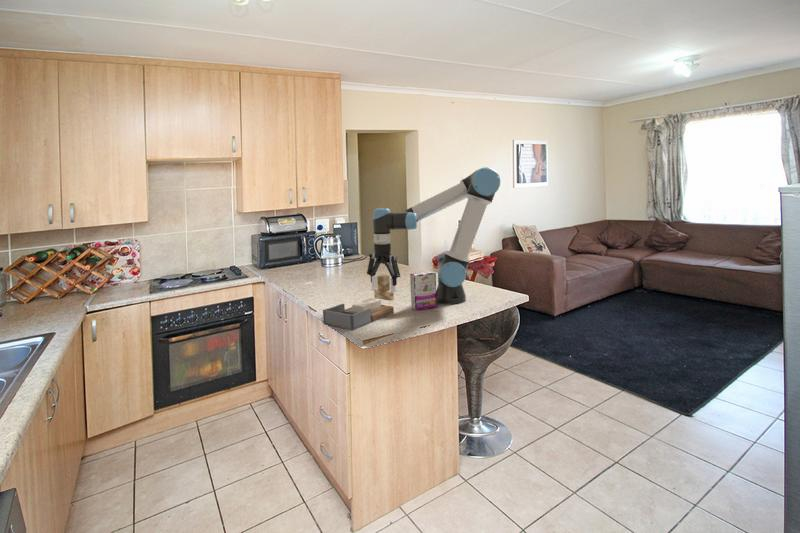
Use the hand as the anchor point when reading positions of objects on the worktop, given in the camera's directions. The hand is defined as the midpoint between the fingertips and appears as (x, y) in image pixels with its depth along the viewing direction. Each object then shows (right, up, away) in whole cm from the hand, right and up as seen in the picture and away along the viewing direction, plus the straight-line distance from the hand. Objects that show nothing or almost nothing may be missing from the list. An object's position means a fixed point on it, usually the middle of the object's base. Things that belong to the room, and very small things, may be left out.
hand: (383, 291), depth 199 cm
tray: (-14, -12, -19) cm, 27 cm away
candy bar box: (+19, -8, +1) cm, 20 cm away
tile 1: (-9, -8, -12) cm, 17 cm away
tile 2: (-5, -7, -7) cm, 11 cm away
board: (-6, -10, -8) cm, 14 cm away
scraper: (0, -4, +1) cm, 4 cm away
